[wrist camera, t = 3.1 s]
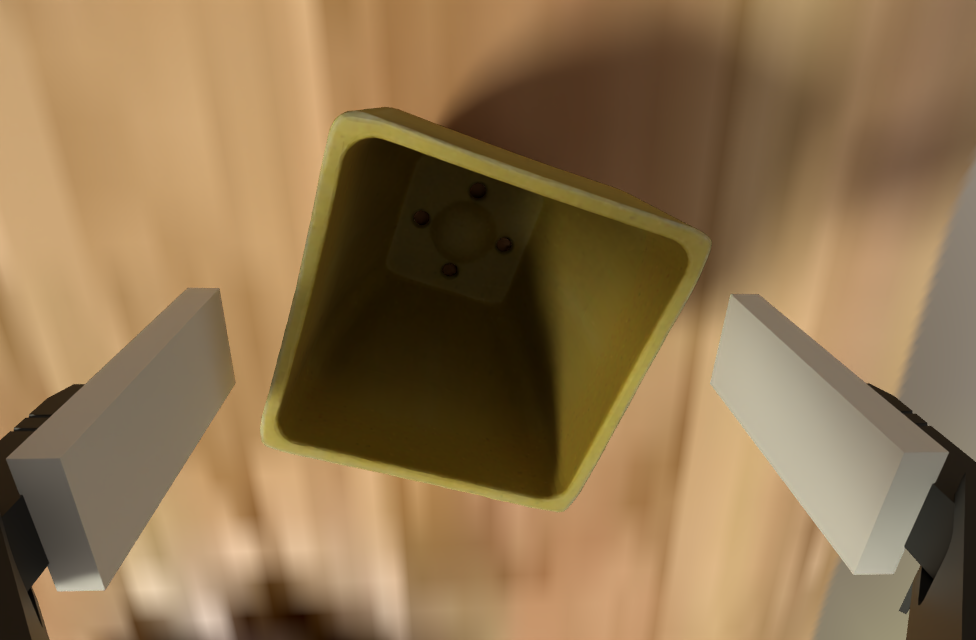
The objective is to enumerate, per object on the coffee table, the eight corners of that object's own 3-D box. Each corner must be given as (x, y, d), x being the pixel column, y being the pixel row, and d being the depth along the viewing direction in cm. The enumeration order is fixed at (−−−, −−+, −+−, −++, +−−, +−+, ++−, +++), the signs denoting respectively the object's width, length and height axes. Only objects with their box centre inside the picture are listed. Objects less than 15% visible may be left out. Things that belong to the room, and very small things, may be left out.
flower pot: (528, 360, 25) (568, 522, 17) (320, 301, 23) (252, 450, 15) (617, 159, 21) (723, 239, 13) (380, 70, 19) (334, 100, 11)
